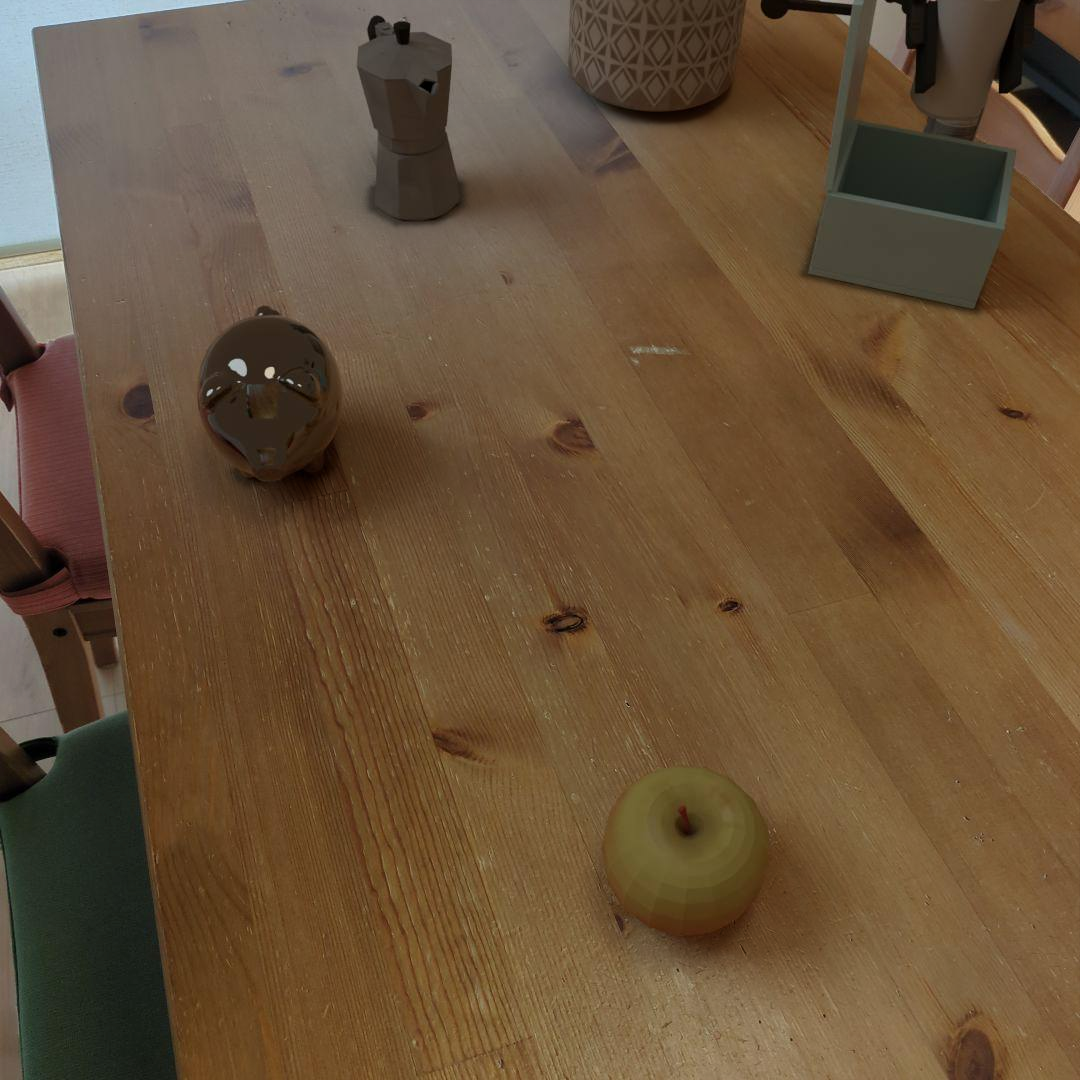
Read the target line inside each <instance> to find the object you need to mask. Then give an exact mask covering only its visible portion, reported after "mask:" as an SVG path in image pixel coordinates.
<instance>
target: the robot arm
mask: <svg viewBox="0 0 1080 1080" xmlns="http://www.w3.org/2000/svg"><path fill="white" fill-rule="evenodd" d="M884 1H885V2H886V3H887V4H893V3H895V4H898V5H899V6H901V11H902V13H903V14H904V15H905V39H904V44H905V46H906V49H907V50H915V72H914V76H915V94H924V93H925V92H926V91H927V90H929V89H930V88H931V87H932V86H933V85H935V80H936V50H937V21H938V1H935V0H884ZM1046 1H1047V0H1020V1H1019V4H1018V7H1017V10H1016V13H1015V16H1014V19H1013V22H1012V25H1011V28H1010V31H1009V34H1008V37H1007V40H1006V43H1005V46H1004V49H1003V52H1002V55H1001V58H1000V61H999V65H998V67H999V68H998V69H999V70H998V93H997V94H998V95H1008V94H1009V93H1011V92H1012V91H1014V90H1015V89H1017V88H1018V87H1019V86H1020V85H1022V82H1023V80H1022V79H1023V60H1024V59H1023V58H1024V50H1025V49H1026V48H1028V47H1030V45H1032V43H1033V41H1034V39H1035V21H1036V17H1035V16H1036V6H1037V5H1041V4H1043V3H1045V2H1046Z"/></svg>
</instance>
